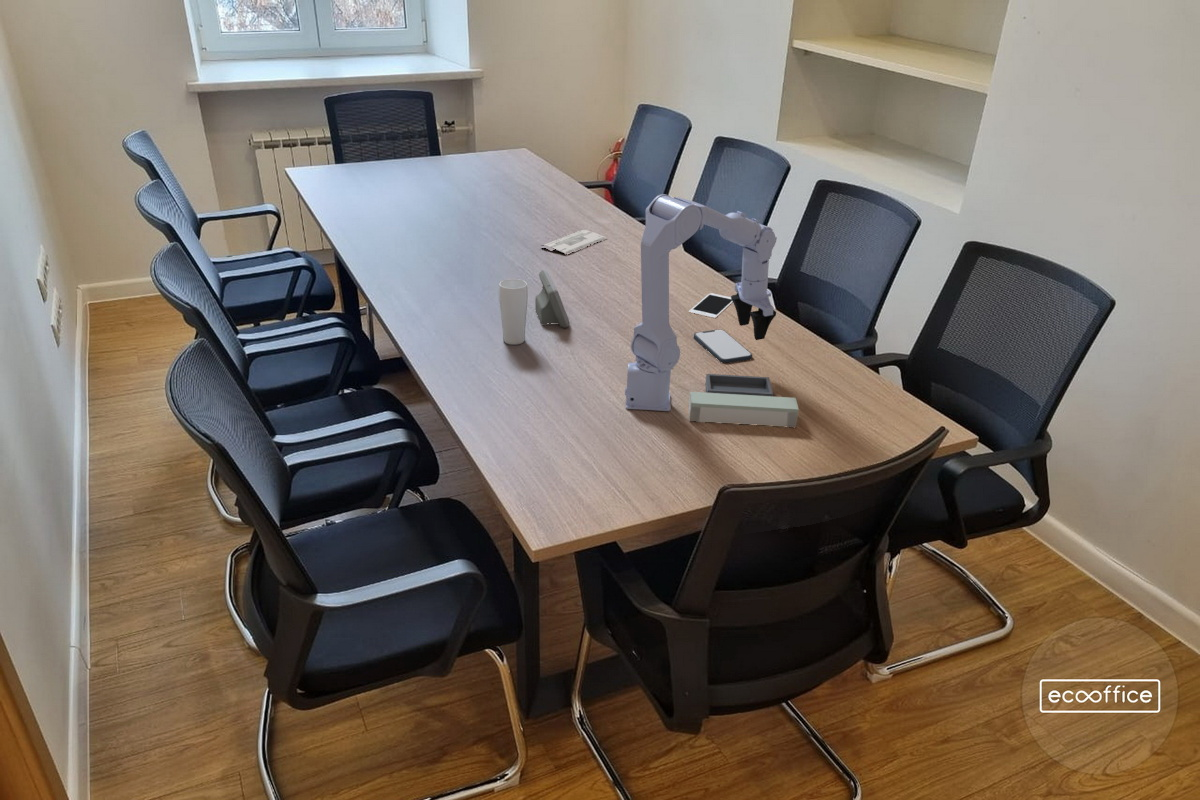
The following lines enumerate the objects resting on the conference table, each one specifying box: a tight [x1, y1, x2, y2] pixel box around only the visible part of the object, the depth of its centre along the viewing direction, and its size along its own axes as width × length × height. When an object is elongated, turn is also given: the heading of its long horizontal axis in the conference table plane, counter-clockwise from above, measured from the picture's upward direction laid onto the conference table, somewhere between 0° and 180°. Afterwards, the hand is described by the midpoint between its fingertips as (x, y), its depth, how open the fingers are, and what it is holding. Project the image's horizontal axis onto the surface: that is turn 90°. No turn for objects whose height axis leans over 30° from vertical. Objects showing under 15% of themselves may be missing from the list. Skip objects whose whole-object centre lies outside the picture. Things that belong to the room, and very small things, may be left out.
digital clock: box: [534, 270, 571, 329], centre depth 225 cm, size 16×9×11 cm, turn 2°
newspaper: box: [541, 229, 608, 255], centre depth 280 cm, size 23×12×2 cm, turn 144°
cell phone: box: [688, 292, 734, 319], centre depth 238 cm, size 8×16×1 cm, turn 152°
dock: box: [688, 391, 800, 428], centre depth 183 cm, size 22×6×4 cm, turn 86°
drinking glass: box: [498, 278, 529, 346], centre depth 210 cm, size 7×7×15 cm
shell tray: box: [704, 373, 774, 397], centre depth 192 cm, size 14×8×3 cm, turn 86°
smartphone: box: [693, 329, 753, 364], centre depth 214 cm, size 9×2×16 cm
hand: (751, 331), depth 199 cm, fingers open, 7 cm apart
